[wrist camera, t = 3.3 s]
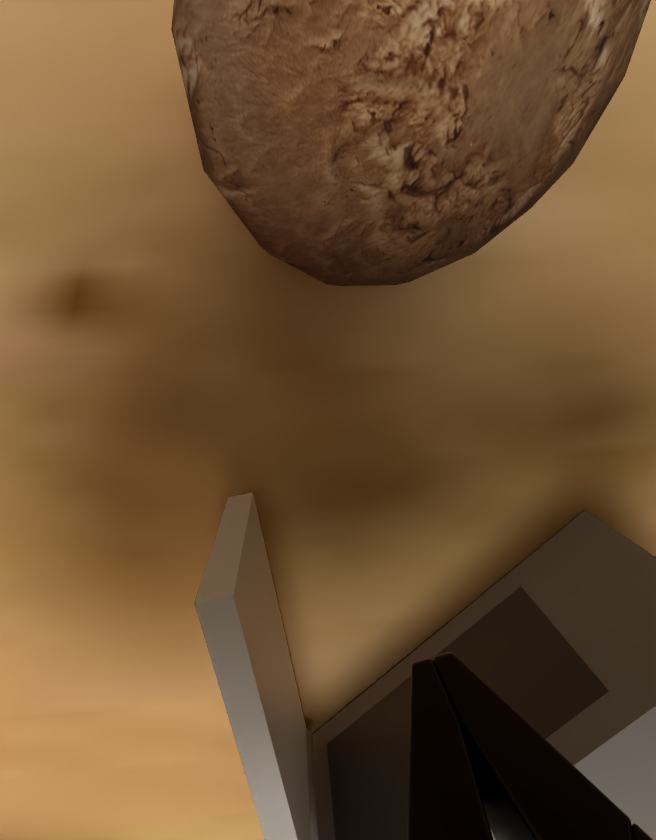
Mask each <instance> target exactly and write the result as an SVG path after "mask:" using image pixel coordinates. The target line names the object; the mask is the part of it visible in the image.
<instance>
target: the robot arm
mask: <svg viewBox="0 0 656 840" xmlns="http://www.w3.org/2000/svg"><path fill="white" fill-rule="evenodd" d="M490 828H491V829H490ZM491 830H492V832H491ZM492 833H493V835H494V837H495V839H496V840H653V839H652V838H651V837H650V836H649V835H648V834H647V833H645V832H644V831H643V830H642V829H641V828H640V827H639V826H638V825H637V824H631V820H630V818H629V817H628V816H627V815H626V814H625V813H624V812H623V811H622V810H621V809H619V808H618V807H617V806H616V805H615V804H614V803H613V802H612V801H611V800H610V799H609V798H608V797H607V796H606V795H604V794H603V793H602V792H601V791H600V790H599V789H598V788H597V787H596V786H595V785H594V784H593V783H592V782H591V781H589V780H588V779H587V778H586V777H585V776H584V775H583V774H582V773H581V772H580V771H579V770H578V769H577V768H576V767H575V766H573V765H572V764H571V763H570V762H569V761H568V760H567V759H566V758H565V757H564V756H563V755H562V754H561V753H560V752H558V751H557V750H556V749H555V748H554V747H553V746H552V745H551V744H550V743H549V742H548V741H547V740H546V739H545V738H543V737H542V736H541V735H540V734H539V733H538V732H537V731H536V730H535V729H534V728H533V727H532V726H531V725H530V724H528V723H527V722H526V721H525V720H524V719H523V718H522V717H521V716H520V715H519V714H518V713H517V712H516V711H515V710H514V709H512V708H511V707H510V706H509V705H508V704H507V703H506V702H505V701H504V700H503V699H502V698H501V697H500V696H499V695H497V694H496V693H495V692H494V691H493V690H492V689H491V688H490V687H489V686H488V685H487V684H486V683H485V682H484V681H482V680H481V679H480V678H479V677H478V676H477V675H476V674H475V673H474V672H473V671H472V670H471V669H470V668H469V667H467V666H466V665H465V664H464V663H463V662H462V661H461V660H460V659H459V658H458V657H457V656H456V655H454V654H453V653H451V652H447V653H443V654H440V655H436V656H434V657H433V659H430V658H425V659H422V660H418V661H415V662H413V663H412V666H411V703H410V746H409V788H408V830H407V840H494V839H493V836H492Z"/></svg>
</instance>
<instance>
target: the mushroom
mask: <svg viewBox="0 0 656 840" xmlns="http://www.w3.org/2000/svg"><path fill="white" fill-rule="evenodd" d="M650 1H651V0H174V7H173V19H172V33H173V38H174V42H175V46H176V51H177V55H178V60H179V64H180V68H181V73H182V77H183V81H184V86H185V90H186V95H187V99H188V103H189V108H190V112H191V116H192V121H193V125H194V129H195V134H196V138H197V143H198V147H199V151H200V156H201V160H202V164H203V169H204V171H205V173H206V174H207V175H208V177H209V178H210V179H211V181H212V182H213V183H214V185H215V186H216V187H217V189H218V190H219V191H220V193H221V194H222V195H223V197H224V198H225V199H226V201H227V202H228V203H229V205H230V206H231V207H232V209H233V210H234V211H235V213H236V214H237V215H238V217H239V218H240V220H241V221H242V222H243V224H244V225H245V226H246V228H247V229H248V230H249V232H250V233H251V234H252V236H253V237H254V238H255V240H256V241H257V242H258V244H259V245H260V246H261V247H262V248H264V249H265V250H266V251H267V252H268V253H269V254H271V255H272V256H274V257H276V258H278V259H280V260H282V261H284V262H286V263H288V264H290V265H292V266H293V267H295V268H297V269H299V270H301V271H303V272H305V273H307V274H309V275H311V276H313V277H314V278H316V279H318V280H320V281H322V282H324V283H326V284H329V285H338V286H370V285H398V284H402V283H406V282H410V281H412V280H415V279H417V278H419V277H421V276H424V275H426V274H428V273H430V272H433V271H435V270H437V269H439V268H442V267H444V266H446V265H448V264H451V263H453V262H455V261H457V260H459V259H462V258H464V257H466V256H468V255H471V254H473V253H475V252H476V251H478V250H479V249H480V248H481V247H483V246H484V245H485V244H486V243H488V242H489V241H490V240H491V239H493V238H494V237H495V236H496V235H498V234H499V233H500V232H501V231H503V230H504V229H505V228H507V227H508V226H509V225H510V224H512V223H513V222H514V221H515V220H517V219H518V218H519V217H520V216H522V215H523V214H524V213H525V212H527V211H528V210H529V209H530V208H531V207H532V206H533V205H534V204H535V203H536V202H537V201H538V200H539V199H540V198H541V197H542V196H543V195H544V194H545V193H546V191H547V190H548V189H549V188H550V187H551V186H552V185H553V184H554V183H555V182H556V181H557V180H558V179H559V178H560V177H561V176H562V174H563V173H564V172H565V171H566V170H567V169H568V168H569V167H570V166H571V165H572V164H573V163H574V161H575V159H576V157H577V156H578V154H579V152H580V151H581V149H582V147H583V146H584V144H585V142H586V141H587V139H588V137H589V136H590V134H591V132H592V130H593V129H594V127H595V125H596V124H597V122H598V120H599V119H600V117H601V115H602V114H603V112H604V110H605V109H606V107H607V105H608V103H609V102H610V100H611V98H612V97H613V95H614V93H615V92H616V90H617V88H618V87H619V85H620V83H621V82H622V80H623V78H624V76H625V74H626V71H627V68H628V65H629V62H630V59H631V56H632V53H633V50H634V48H635V45H636V42H637V39H638V36H639V33H640V30H641V27H642V24H643V21H644V18H645V16H646V13H647V10H648V7H649V4H650Z"/></svg>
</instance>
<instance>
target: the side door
mask: <svg viewBox="0 0 656 840" xmlns="http://www.w3.org/2000/svg"><path fill="white" fill-rule="evenodd" d="M195 607H196V610H197V613H198V617H199V620H200V623H201V627H202V630H203V633H204V637H205V640H206V644H207V647H208V650H209V654H210V657H211V660H212V664H213V667H214V670H215V674H216V677H217V680H218V684H219V687H220V690H221V694H222V697H223V700H224V704H225V707H226V710H227V714H228V717H229V720H230V724H231V727H232V730H233V734H234V737H235V740H236V744H237V747H238V751H239V754H240V757H241V761H242V764H243V767H244V771H245V774H246V777H247V781H248V784H249V787H250V791H251V794H252V797H253V801H254V804H255V807H256V811H257V814H258V817H259V821H260V824H261V827H262V831H263V834H264V837H265V840H318V825H317V807H316V790H315V772H314V755H313V737H312V733H311V731H310V730H309V729H307V728H306V724H305V720H304V715H303V711H302V707H301V702H300V698H299V693H298V689H297V685H296V680H295V676H294V671H293V667H292V662H291V658H290V654H289V649H288V645H287V640H286V636H285V631H284V627H283V623H282V618H281V614H280V609H279V605H278V601H277V596H276V592H275V587H274V583H273V578H272V574H271V570H270V565H269V561H268V556H267V552H266V547H265V543H264V539H263V534H262V530H261V525H260V521H259V517H258V512H257V508H256V503H255V499H254V494H253V493H247V494H242V495H236V496H231V497H228V500H227V503H226V506H225V509H224V512H223V515H222V518H221V522H220V525H219V528H218V531H217V534H216V537H215V540H214V544H213V547H212V550H211V553H210V556H209V559H208V562H207V566H206V569H205V572H204V575H203V578H202V581H201V584H200V588H199V591H198V594H197V597H196V600H195Z"/></svg>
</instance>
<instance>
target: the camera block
mask: <svg viewBox="0 0 656 840" xmlns="http://www.w3.org/2000/svg"><path fill="white" fill-rule="evenodd" d="M447 652H451V653H453V654H454V655H456V656H457V657H458V658H459V659H460V660H461V661H462V662H463V663H464V664H465V665H466V666H467V667H469V668H470V669H471V670H472V671H473V672H474V673H475V674H476V675H477V676H478V677H479V678H480V679H481V680H482V681H484V682H485V683H486V684H487V685H488V686H489V687H490V688H491V689H492V690H493V691H494V692H495V693H496V694H497V695H499V696H500V697H501V698H502V699H503V700H504V701H505V702H506V703H507V704H508V705H509V706H510V707H511V708H512V709H514V710H515V711H516V712H517V713H518V714H519V715H520V716H521V717H522V718H523V719H524V720H525V721H526V722H527V723H528V724H530V725H531V726H532V727H533V728H534V729H535V730H536V731H537V732H538V733H539V734H540V735H541V736H542V737H543V738H545V739H546V740H547V741H548V742H549V743H550V744H551V745H552V746H553V747H554V748H555V749H556V750H557V751H558V752H560V753H561V754H562V755H563V756H564V757H565V758H566V759H567V760H568V761H569V762H570V763H571V764H572V765H573V766H575V767H576V768H577V769H578V770H579V771H580V772H581V773H582V774H583V775H584V776H585V777H586V778H587V779H588V780H589V781H591V782H592V783H593V784H594V785H595V786H596V787H597V788H598V789H599V790H600V791H601V792H602V793H603V794H604V795H606V796H607V797H608V798H609V799H610V800H611V801H612V802H613V803H614V804H615V805H616V806H617V807H618V808H619V809H621V810H622V811H623V812H624V813H625V814H626V815H627V816H628V817H629V818H630V820H631V824H637V825H638V826H639V827H640V828H641V829H642V830H643V831H644V832H645V833H647V834H648V835H649V836H650V837H651V838H652V839H653V840H656V557H654V556H653V555H651V554H650V553H648V552H647V551H645V550H644V549H642V548H641V547H639V546H638V545H636V544H635V543H633V542H632V541H630V540H629V539H628V538H626V537H625V536H623V535H622V534H620V533H619V532H617V531H616V530H614V529H613V528H611V527H610V526H608V525H607V524H605V523H604V522H602V521H601V520H599V519H598V518H596V517H595V516H593V515H592V514H590V513H589V512H588V511H586V510H585V511H583V512H582V513H581V514H580V515H579V516H577V517H576V518H575V519H574V520H573V521H571V522H570V523H569V524H568V525H566V526H565V527H564V528H563V529H562V530H560V531H559V532H558V533H557V534H556V535H554V536H553V537H552V538H551V539H549V540H548V541H547V542H546V543H545V544H543V545H542V546H541V547H540V548H538V549H537V550H536V551H535V552H534V553H532V554H531V555H530V556H529V557H528V558H526V559H525V560H524V561H523V562H521V563H520V564H519V565H518V566H517V567H515V568H514V569H513V570H512V571H511V572H509V573H508V574H507V575H506V576H504V577H503V578H502V579H501V580H500V581H498V582H497V583H496V584H495V585H494V586H492V587H491V588H490V589H489V590H487V591H486V592H485V593H484V594H483V595H481V596H480V597H479V598H478V599H477V600H475V601H474V602H473V603H472V604H470V605H469V606H468V607H467V608H466V609H464V610H463V611H462V612H461V613H459V614H458V615H457V616H456V617H455V618H453V619H452V620H451V621H450V622H449V623H447V624H446V625H445V626H444V627H442V628H441V629H440V630H439V631H438V632H436V633H435V634H434V635H433V636H432V637H430V638H429V639H428V640H427V641H425V642H424V643H423V644H422V645H421V646H419V647H418V648H417V649H416V650H415V651H413V652H412V653H411V654H410V655H408V656H407V657H406V658H405V659H404V660H402V661H401V662H400V663H399V664H398V665H396V666H395V667H394V668H393V669H391V670H390V671H389V672H388V673H387V674H385V675H384V676H383V677H382V678H380V679H379V680H378V681H377V682H376V683H374V684H373V685H372V686H371V687H370V688H368V689H367V690H366V691H365V692H363V693H362V694H361V695H360V696H359V697H357V698H356V699H355V700H354V701H353V702H351V703H350V704H349V705H348V706H346V707H345V708H344V709H343V710H342V711H340V712H339V713H338V714H337V715H336V716H334V717H333V718H332V719H331V720H329V721H328V722H327V723H326V724H325V725H323V726H322V727H321V728H320V729H318V730H317V731H316V732H315V733H314V734H312V737H313V755H314V772H315V790H316V807H317V825H318V840H407V830H408V788H409V746H410V703H411V666H412V663H413V662H415V661H418V660H422V659H425V658H430V659H433V657H434V656H436V655H440V654H443V653H447ZM490 829H491V828H490ZM491 832H492V830H491ZM492 836H493V839H494V840H496V839H495V837H494V835H493V833H492Z"/></svg>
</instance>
